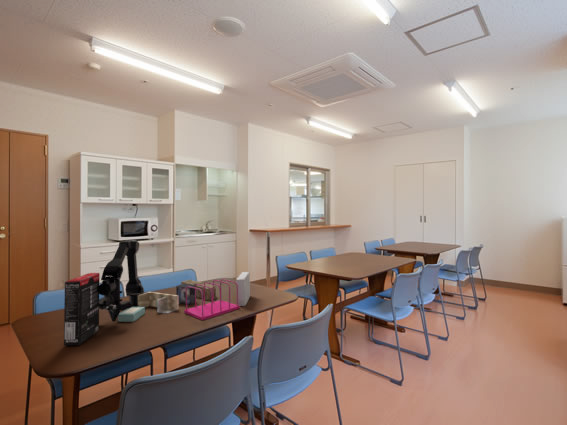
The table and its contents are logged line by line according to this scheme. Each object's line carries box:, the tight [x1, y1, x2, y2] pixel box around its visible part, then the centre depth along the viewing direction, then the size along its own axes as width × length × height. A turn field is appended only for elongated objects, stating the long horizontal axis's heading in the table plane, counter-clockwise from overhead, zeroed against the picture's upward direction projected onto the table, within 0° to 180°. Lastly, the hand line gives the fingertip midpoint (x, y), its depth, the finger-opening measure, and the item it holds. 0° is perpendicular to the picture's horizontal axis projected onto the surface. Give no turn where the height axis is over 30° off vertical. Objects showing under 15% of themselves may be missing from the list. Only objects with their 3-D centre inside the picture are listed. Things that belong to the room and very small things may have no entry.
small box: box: [175, 283, 196, 306], centre depth 185 cm, size 11×6×10 cm, turn 68°
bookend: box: [156, 296, 177, 315], centre depth 169 cm, size 7×7×7 cm
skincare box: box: [235, 271, 251, 307], centre depth 188 cm, size 21×6×16 cm, turn 178°
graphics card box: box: [63, 272, 101, 347], centre depth 134 cm, size 17×7×27 cm, turn 7°
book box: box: [117, 307, 146, 323], centre depth 160 cm, size 8×12×4 cm, turn 178°
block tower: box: [180, 279, 217, 301], centre depth 202 cm, size 8×8×29 cm
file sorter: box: [183, 278, 241, 321], centre depth 170 cm, size 17×25×16 cm
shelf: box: [138, 291, 180, 311], centre depth 172 cm, size 22×8×8 cm, turn 68°
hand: (113, 321), depth 150 cm, fingers closed
